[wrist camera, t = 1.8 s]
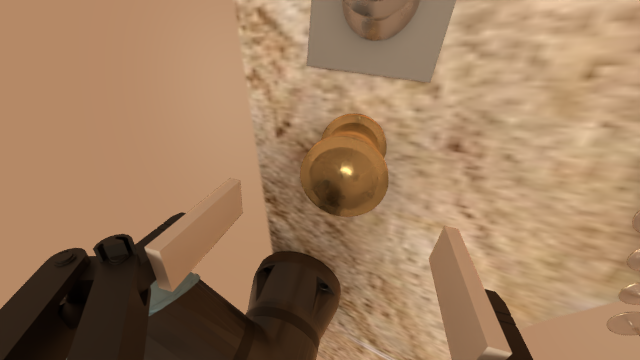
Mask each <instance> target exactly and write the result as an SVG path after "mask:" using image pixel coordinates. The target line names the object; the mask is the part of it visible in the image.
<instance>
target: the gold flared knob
mask: <svg viewBox="0 0 640 360" xmlns="http://www.w3.org/2000/svg"><path fill="white" fill-rule="evenodd" d="M385 154H386V138H385V135H384V132H383V130H382V129H381V127H380V126H379V125H378V124H377V123H376V122H375V121H374V120H373V119H371V118H369V117H367V116H365V115H361V114H346V115H343V116H340V117H338V118H337V119H335V120H334V121H332V122H331V123H330V124H329V126H328V127H327V128H326V130H325V131H324V133H323V136H322V139H321V141H319V142H318V143H316V144H315V145H314V146H313V147H312V148H311V149H310V150H309V152H308V153H307V155H306V156H305V158H304V160H303V162H302V165H301V171H300V178H301V184H302V187H303V189H304V191H305V193H306V195H307V196H308V198H309V199H310V200H311V201H312V202H313V203H314V204H315V205H316V206H317V207H319V208H320V209H322V210H323V211H325V212H328V213H330V214H333V215H337V216H345V217H350V216H358V215H361V214H364V213H367V212H369V211H370V210H372V209H373V208H375V207H376V206H377V205H378V204H379V203H380V202H381V200H382V199H383V197H384V196H385V194H386V191H387V187H388V169H387V165H386V162H385V160H384V157H385Z"/></svg>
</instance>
